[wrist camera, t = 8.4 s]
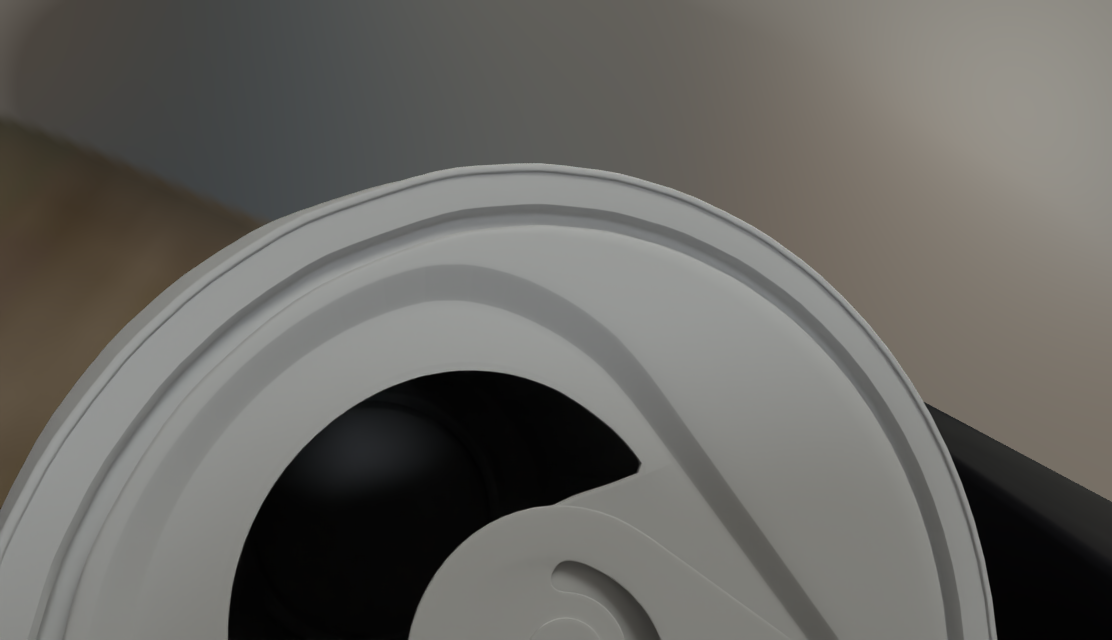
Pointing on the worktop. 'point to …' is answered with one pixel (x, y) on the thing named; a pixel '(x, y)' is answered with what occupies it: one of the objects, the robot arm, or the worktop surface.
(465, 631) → the beverage can
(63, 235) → the worktop surface
